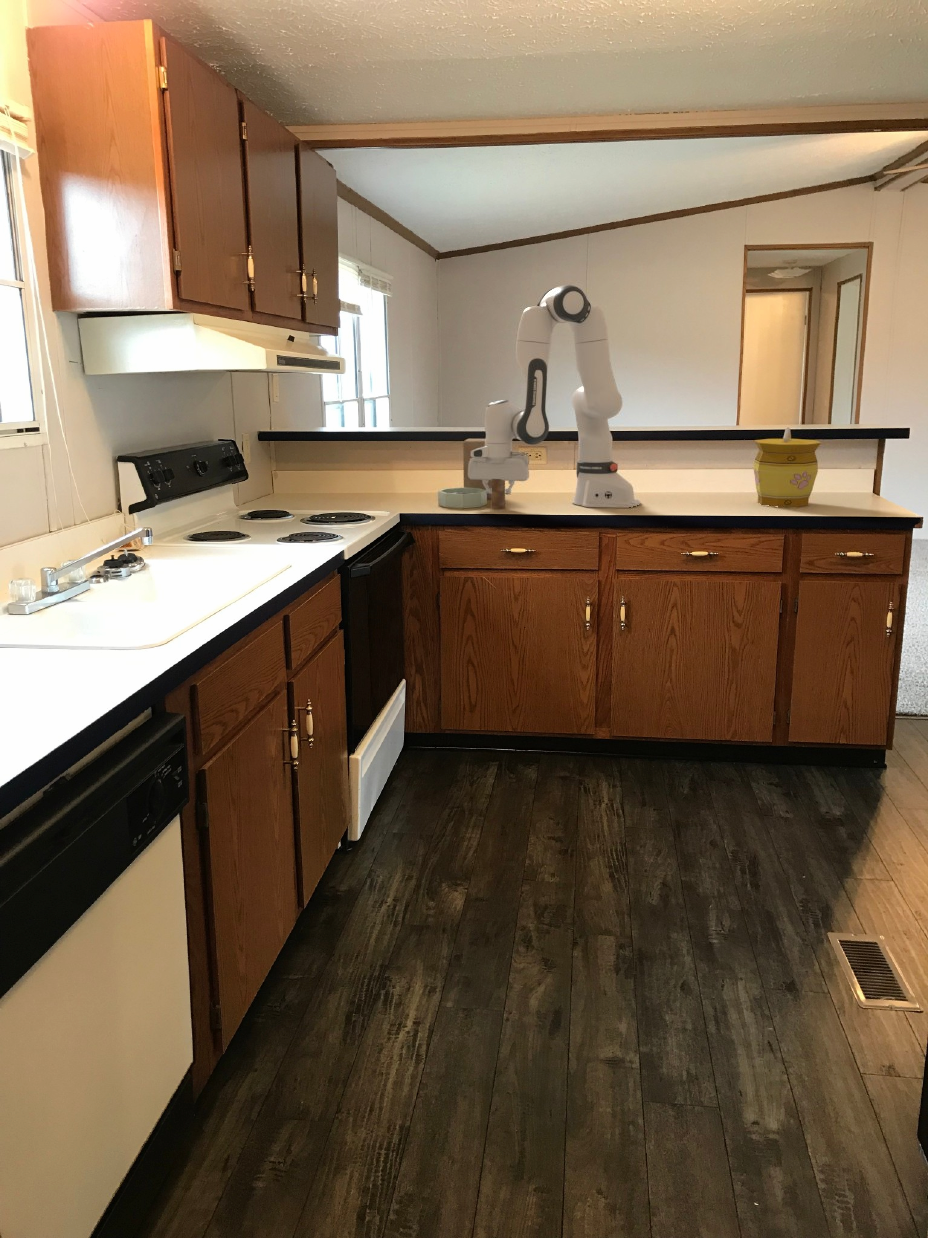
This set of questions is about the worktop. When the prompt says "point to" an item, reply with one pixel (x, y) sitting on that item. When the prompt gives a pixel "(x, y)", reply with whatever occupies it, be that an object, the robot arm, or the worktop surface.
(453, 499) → the octagonal green tray
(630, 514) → the worktop surface
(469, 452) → the wooden block
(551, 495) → the worktop surface
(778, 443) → the container
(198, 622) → the worktop surface
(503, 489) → the wooden rectangular beam
